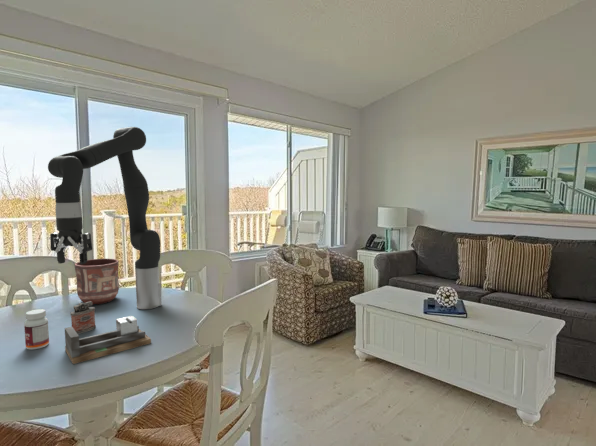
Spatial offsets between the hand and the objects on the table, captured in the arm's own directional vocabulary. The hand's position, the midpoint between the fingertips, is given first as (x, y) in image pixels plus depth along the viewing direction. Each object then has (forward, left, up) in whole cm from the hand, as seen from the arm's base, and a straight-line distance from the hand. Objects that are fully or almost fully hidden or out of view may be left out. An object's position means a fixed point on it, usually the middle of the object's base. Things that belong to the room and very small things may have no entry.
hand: (72, 263), depth 125 cm
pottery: (-16, -38, -25) cm, 48 cm away
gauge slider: (-11, +21, -23) cm, 33 cm away
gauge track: (-6, +19, -25) cm, 32 cm away
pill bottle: (+11, +3, -25) cm, 28 cm away
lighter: (-3, -2, -25) cm, 25 cm away
